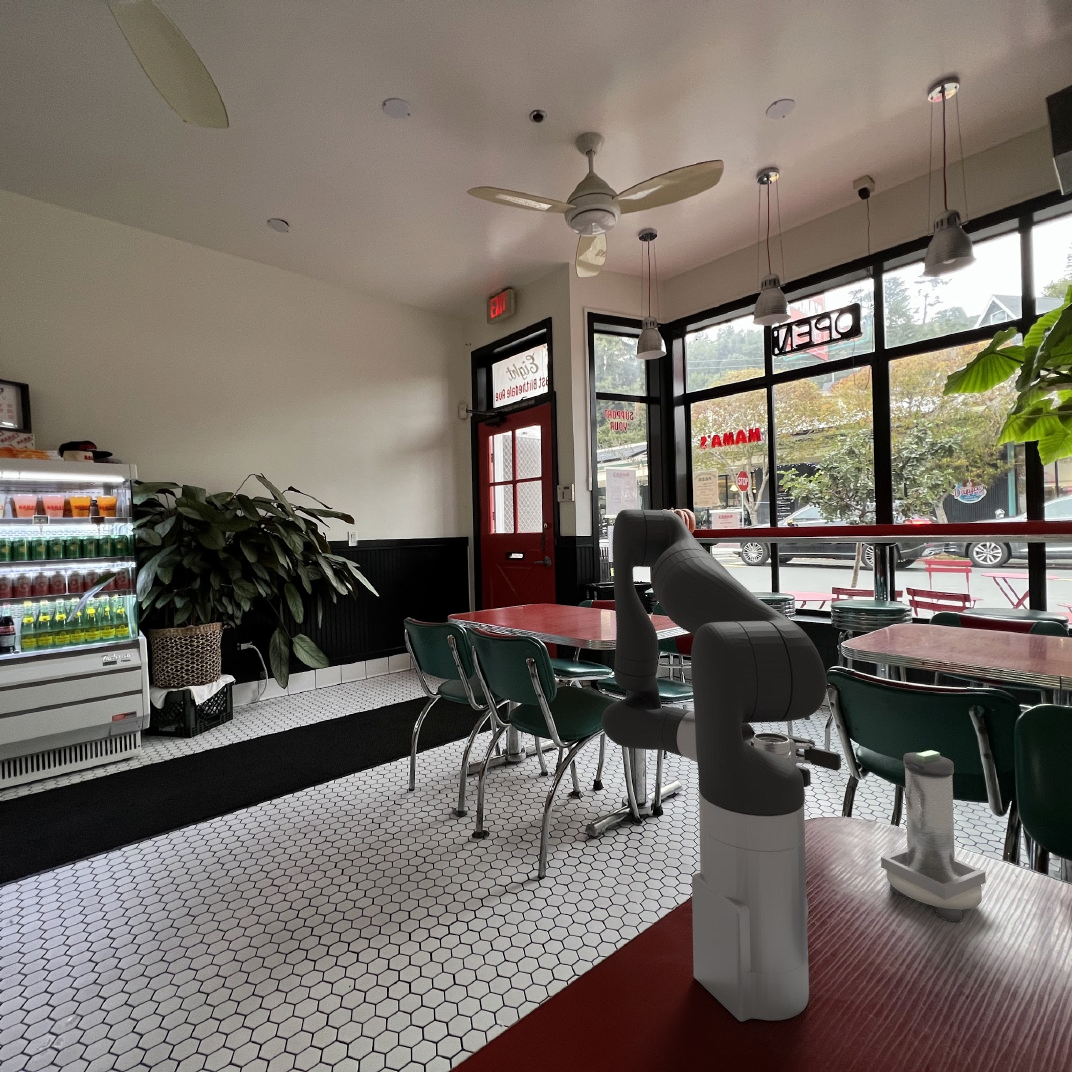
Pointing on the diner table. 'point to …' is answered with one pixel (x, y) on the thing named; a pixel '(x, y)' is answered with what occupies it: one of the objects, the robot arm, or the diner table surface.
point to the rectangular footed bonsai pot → (936, 886)
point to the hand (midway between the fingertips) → (825, 770)
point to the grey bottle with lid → (930, 815)
